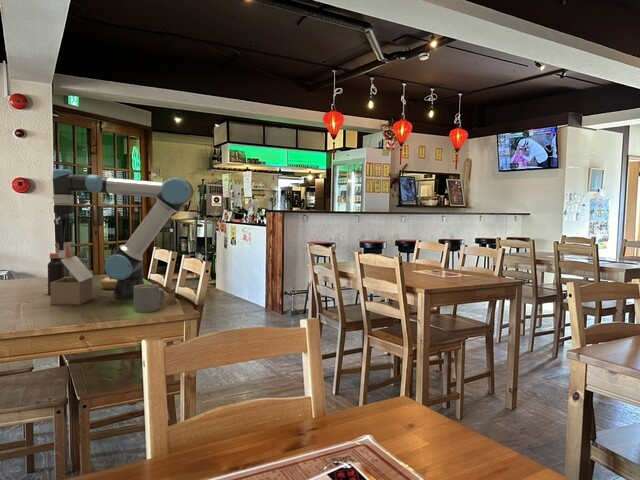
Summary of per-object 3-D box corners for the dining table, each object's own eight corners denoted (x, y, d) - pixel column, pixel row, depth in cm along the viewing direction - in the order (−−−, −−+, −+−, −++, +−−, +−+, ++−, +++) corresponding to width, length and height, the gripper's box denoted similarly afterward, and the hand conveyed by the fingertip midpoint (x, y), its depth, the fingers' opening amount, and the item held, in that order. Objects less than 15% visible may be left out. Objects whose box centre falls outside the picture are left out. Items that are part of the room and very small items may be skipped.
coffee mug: (138, 313, 184) (138, 288, 183) (130, 308, 191) (130, 285, 191) (170, 308, 192) (170, 285, 192) (161, 304, 200) (161, 282, 199)
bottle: (64, 292, 224) (63, 252, 223) (64, 295, 218) (63, 253, 217) (48, 293, 220) (47, 253, 219) (48, 296, 215) (47, 254, 213)
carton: (92, 298, 211) (92, 277, 210) (79, 305, 197) (79, 282, 196) (65, 298, 209) (64, 277, 209) (50, 305, 195) (50, 282, 195)
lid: (92, 277, 210) (96, 274, 210) (79, 282, 196) (83, 279, 196) (63, 243, 208) (67, 240, 208) (48, 246, 193) (52, 243, 193)
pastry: (99, 291, 231) (98, 274, 230) (103, 287, 242) (102, 270, 241) (124, 289, 234) (123, 273, 233) (127, 285, 246) (126, 269, 245)
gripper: (62, 204, 207) (64, 255, 209) (44, 204, 191) (46, 259, 193) (80, 204, 208) (81, 255, 210) (63, 204, 192) (65, 259, 193)
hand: (64, 256), depth 201 cm, fingers closed on lid, 3 cm apart
